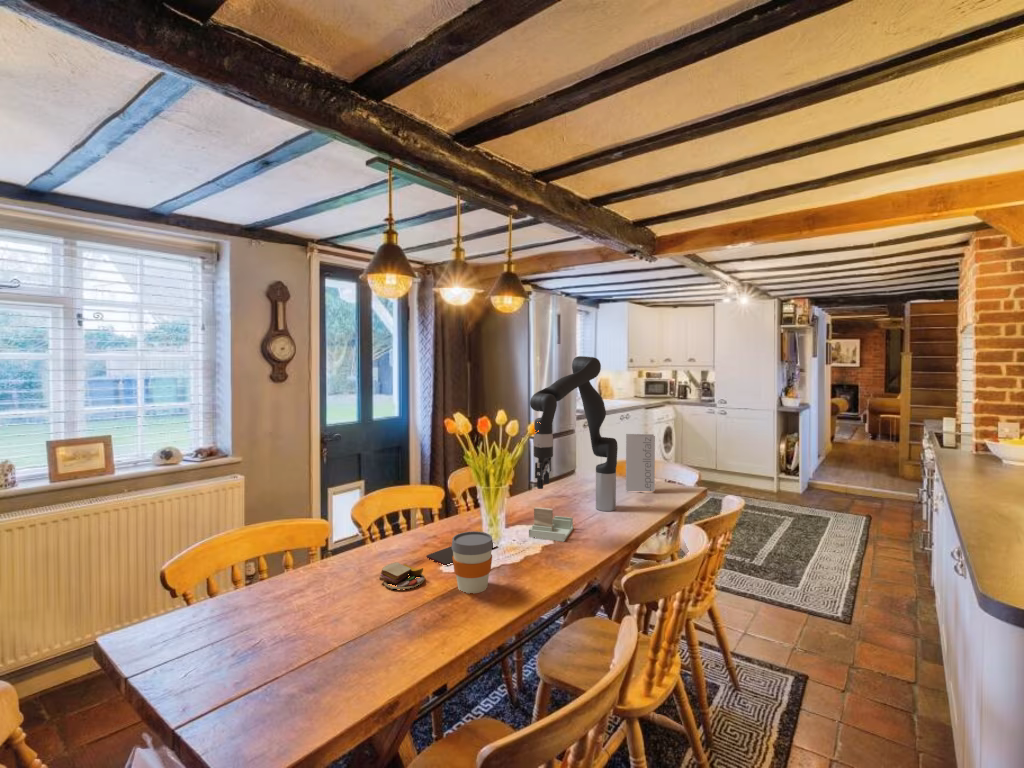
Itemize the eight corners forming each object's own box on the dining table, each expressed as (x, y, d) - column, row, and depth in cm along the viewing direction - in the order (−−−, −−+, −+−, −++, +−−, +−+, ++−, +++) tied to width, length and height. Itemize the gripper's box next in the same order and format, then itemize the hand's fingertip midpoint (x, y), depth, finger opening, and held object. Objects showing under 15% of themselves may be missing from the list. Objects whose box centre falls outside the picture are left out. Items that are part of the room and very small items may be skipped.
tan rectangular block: (535, 532, 196) (535, 507, 196) (552, 534, 194) (552, 508, 193) (534, 533, 194) (534, 508, 194) (551, 535, 192) (551, 510, 192)
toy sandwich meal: (403, 596, 145) (403, 580, 145) (372, 584, 153) (372, 569, 153) (433, 580, 156) (433, 565, 156) (403, 570, 163) (403, 556, 163)
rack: (540, 524, 208) (540, 514, 208) (573, 528, 203) (573, 517, 203) (528, 537, 193) (528, 526, 193) (563, 541, 188) (563, 530, 188)
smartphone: (423, 555, 174) (476, 536, 192) (423, 559, 174) (477, 540, 192) (445, 565, 165) (499, 544, 183) (445, 569, 165) (499, 548, 183)
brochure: (626, 492, 259) (626, 435, 257) (625, 489, 264) (626, 433, 263) (654, 493, 256) (654, 436, 255) (653, 490, 262) (653, 434, 260)
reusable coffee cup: (444, 592, 147) (443, 542, 147) (463, 575, 159) (463, 529, 158) (482, 599, 143) (482, 548, 142) (499, 581, 154) (499, 534, 154)
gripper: (539, 441, 200) (539, 481, 201) (528, 447, 187) (528, 489, 188) (557, 442, 198) (557, 482, 199) (547, 448, 184) (547, 491, 185)
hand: (543, 486), depth 193 cm, fingers open, 8 cm apart
